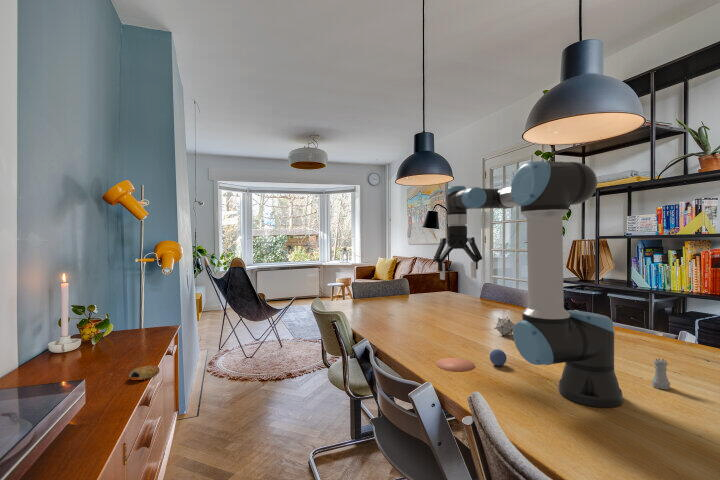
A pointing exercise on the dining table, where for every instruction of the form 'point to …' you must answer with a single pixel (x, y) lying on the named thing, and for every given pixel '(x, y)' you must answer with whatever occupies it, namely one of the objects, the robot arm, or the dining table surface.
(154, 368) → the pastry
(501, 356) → the ball
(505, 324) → the game die
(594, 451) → the dining table surface
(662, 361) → the rook chess piece
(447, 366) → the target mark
